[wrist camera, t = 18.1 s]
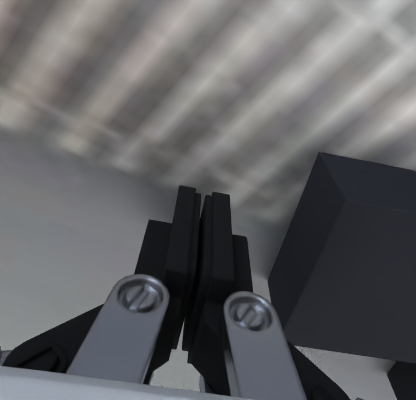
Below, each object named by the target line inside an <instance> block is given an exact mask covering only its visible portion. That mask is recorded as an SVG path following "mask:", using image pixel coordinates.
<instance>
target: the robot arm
mask: <svg viewBox="0 0 416 400" xmlns="http://www.w3.org/2000/svg"><path fill="white" fill-rule="evenodd" d="M195 191H196V188H191V187H186V186H181V185H180V186H179V191H178V196H177V201H176V206H175V211H174V217H173V222H172V223H167V222H161V221H155V220H150V219H149V221H148V225H147V228H146V232H145V236H144V240H143V243H142V247H141V251H140V254H139V258H138V262H137V265H136V269H135V273H134V274H133V275H129V276H126V277H124V278H122V279H121V280H119V281H118V282H117V283H116V284H115V286H114V287H113V289H112V290H111V292H110V294H109V296H108V298H107V299H106V301H105V303H104V304H102V305H100V306H98V307H96V308H94V309H92V310H90V311H88V312H85V313H83V314H81V315H79V316H77V317H75V318H73V319H71V320H69V321H67V322H65V323H63V324H61V325H59V326H56V327H54V328H52V329H50V330H48V331H46V332H44V333H42V334H40V335H38V336H36V337H34V338H32V339H30V340H27V341H25V342H24V343H22V344H21V345H19V346H17V347H16V348H15V349H14V350H6V351H1V346H0V400H350V399H349V397H348V396H347V394H346V393H345V392H344V391H343V390H342V389H341V388H340V387H339V386H338V385H337V384H336V383H335V382H333V381H332V380H331V379H330V378H329V377H328V376H327V375H326V374H325V373H323V372H322V371H321V370H320V369H319V368H318V367H317V366H316V365H314V364H313V363H312V362H311V361H310V360H309V359H308V358H307V357H305V356H304V355H303V354H302V353H301V352H300V351H299V350H298V349H297V348H295V347H294V346H293V345H292V344H291V343H290V342H289V341H288V340H286V338H285V335H284V332H283V329H282V326H281V323H280V320H279V318H278V315H277V312H276V310H275V309H274V307H273V306H272V304H271V303H270V302H269V301H268V300H266V299H265V298H263V297H262V296H260V295H258V294H255V293H253V287H252V278H251V269H250V260H249V251H248V242H247V238H246V237H244V236H239V235H233V234H232V228H231V210H230V195H228V194H223V193H218V192H213V193H212V196H210V195H206V197H205V200H204V205H203V209H202V213H201V217H200V206H201V194H200V193H195ZM199 220H200V221H199ZM184 318H185V319H184ZM183 322H184V330H183V340H182V350H183V351H188V361H187V363H190V364H192V365H193V366H194V367H195V368H196V370H197V371H198V372H199V373H200V374H201V375H200V381H199V385H200V392H196V391H188V390H181V389H174V388H167V387H159V386H152V385H150V383H151V380H152V377H153V372H154V370H156V369H157V368H159V367H160V366H162V365H163V364H164V363H166V362H167V361H169V357H170V353H171V349H177V345H178V341H179V337H180V333H181V329H182V326H183ZM356 400H363V399H360V398H358V397H357V398H356Z"/></svg>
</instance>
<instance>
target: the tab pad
mask: <svg viewBox="0 0 416 400" xmlns="http://www.w3.org/2000/svg"><path fill="white" fill-rule="evenodd" d="M268 286H269V292H270V298H271V304H272V306H273V307H274V309H275V310H276V312H277V315H278V318H279V320H280V323H281V326H282V329H283V332H284V335H285V338H286V340H288V341H289V342H290V343H291V344H292V345H294V346H301V347H308V348H315V349H321V350H328V351H335V352H342V353H348V354H355V355H362V356H369V357H375V358H382V359H389V360H396V361H402V362H409V363H416V171H413V170H408V169H403V168H398V167H393V166H388V165H383V164H378V163H373V162H368V161H363V160H357V159H352V158H347V157H342V156H337V155H332V154H327V153H322V152H319V154H318V156H317V159H316V161H315V164H314V166H313V169H312V171H311V174H310V176H309V179H308V181H307V184H306V187H305V189H304V192H303V194H302V197H301V199H300V202H299V204H298V207H297V209H296V212H295V214H294V217H293V219H292V222H291V224H290V227H289V229H288V232H287V234H286V237H285V239H284V242H283V244H282V247H281V249H280V252H279V254H278V257H277V259H276V262H275V264H274V267H273V270H272V272H271V275H270V277H269V280H268Z"/></svg>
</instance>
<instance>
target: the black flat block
mask: <svg viewBox="0 0 416 400" xmlns="http://www.w3.org/2000/svg"><path fill="white" fill-rule="evenodd" d="M387 376H388V379H389V381H390V383H391V386H392V388H393V390H394V393H395V395H396V398H397V400H416V363H409V362H402V361H398V362H397V363H396V364H395V366H394V367H393V368H392V369H391V371H390V372H389V373H388V375H387Z"/></svg>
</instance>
